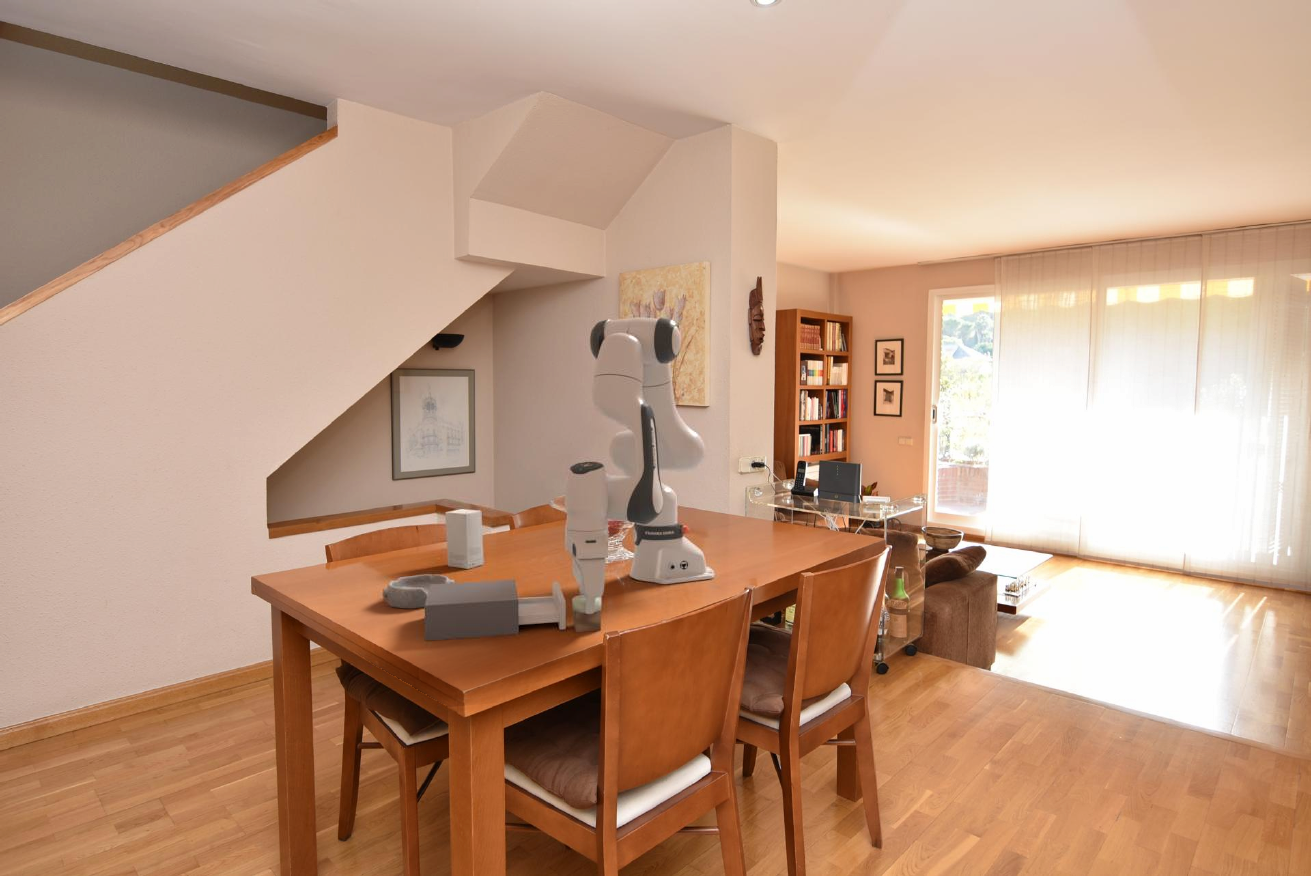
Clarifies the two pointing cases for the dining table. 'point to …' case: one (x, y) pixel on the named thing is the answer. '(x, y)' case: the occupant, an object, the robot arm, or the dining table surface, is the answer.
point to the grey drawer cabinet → (471, 610)
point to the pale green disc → (579, 604)
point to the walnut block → (587, 621)
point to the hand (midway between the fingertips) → (586, 607)
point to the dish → (412, 590)
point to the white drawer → (543, 608)
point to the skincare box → (464, 538)
